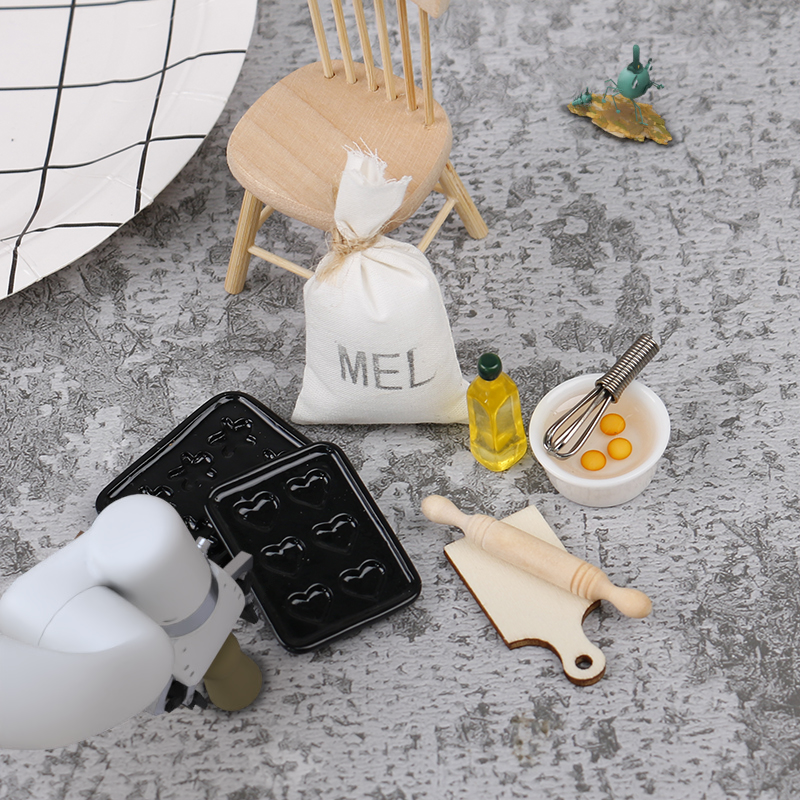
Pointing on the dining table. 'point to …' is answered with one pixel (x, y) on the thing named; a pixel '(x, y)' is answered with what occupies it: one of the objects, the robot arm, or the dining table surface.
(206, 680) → the cork
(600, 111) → the teal creature figurine
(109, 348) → the dining table surface
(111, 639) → the robot arm
